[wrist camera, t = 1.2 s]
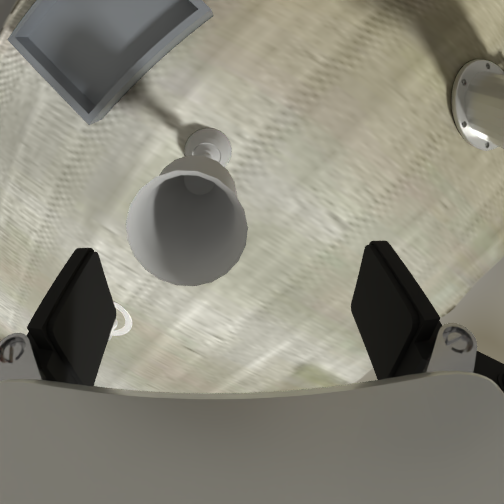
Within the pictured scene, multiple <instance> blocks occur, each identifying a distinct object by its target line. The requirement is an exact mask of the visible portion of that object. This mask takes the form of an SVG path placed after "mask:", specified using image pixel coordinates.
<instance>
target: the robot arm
mask: <svg viewBox="0 0 504 504" xmlns="http://www.w3.org/2000/svg"><path fill="white" fill-rule="evenodd" d="M452 112H453V116H454V120H455V123H456V126H457V128H458V130H459V132H460V134H461V135H462V137H463V138H464V139H465V141H467V142H468V143H469V144H470V145H472V146H474V147H476V148H478V149H481V150H486V151H487V150H492V149H495V148H497V147H501V148H503V149H504V72H503V70H502V69H501V68H500V67H499V66H497V65H496V64H495V63H493V62H490V61H487V60H478V59H476V60H472V61H470V62H468V63H467V64H465V65H464V66H463V67H462V68H461V69H460V71H459V73H458V74H457V76H456V79H455V82H454V85H453V90H452ZM351 311H352V314H353V317H354V319H355V322H356V324H357V327H358V329H359V332H360V334H361V337H362V339H363V342H364V344H365V347H366V350H367V352H368V355H369V357H370V360H371V363H372V365H373V368H374V371H375V373H376V376H377V379H378V380H375V381H368V382H362V383H354V384H347V385H339V386H331V387H322V388H312V389H301V390H289V391H274V392H255V393H170V392H150V391H135V390H123V389H113V388H104V387H95V386H94V382H95V379H96V376H97V373H98V369H99V366H100V363H101V360H102V357H103V354H104V351H105V348H106V345H107V342H108V339H109V336H110V333H111V330H112V327H113V325H114V322H115V319H116V308H115V305H114V303H113V300H112V297H111V294H110V291H109V288H108V284H107V281H106V278H105V275H104V272H103V268H102V265H101V262H100V258H99V255H98V253H97V252H94V250H93V249H92V248H77V249H76V250H75V251H74V253H73V254H72V256H71V257H70V258H69V260H68V261H67V263H66V264H65V266H64V267H63V269H62V270H61V272H60V273H59V275H58V276H57V278H56V280H55V281H54V283H53V284H52V286H51V287H50V289H49V291H48V292H47V294H46V296H45V297H44V299H43V300H42V302H41V304H40V305H39V307H38V309H37V311H36V312H35V314H34V316H33V317H32V319H31V321H30V323H29V325H28V326H27V329H28V330H29V332H28V334H27V336H26V335H24V334H22V333H14V334H11V335H8V336H7V337H5V338H4V339H3V340H2V341H1V342H0V504H504V364H502V363H500V362H498V361H496V360H494V359H492V358H490V357H488V356H486V355H484V354H482V353H480V352H478V351H477V341H476V339H475V337H474V335H473V334H472V332H470V331H469V330H468V329H467V328H466V327H464V326H462V325H460V324H456V323H448V324H444V325H443V326H442V324H441V323H440V321H439V320H440V317H439V315H438V313H437V312H436V310H435V309H434V307H433V306H432V304H431V303H430V301H429V300H428V298H427V297H426V295H425V294H424V292H423V291H422V289H421V288H420V286H419V285H418V283H417V282H416V280H415V279H414V277H413V276H412V274H411V273H410V272H409V270H408V269H407V267H406V266H405V264H404V263H403V262H402V260H401V259H400V258H399V256H398V255H397V253H396V252H395V251H394V249H393V248H392V247H391V245H390V244H389V243H388V242H387V241H371V242H370V244H369V245H367V246H366V247H365V249H364V254H363V258H362V262H361V267H360V271H359V275H358V279H357V283H356V287H355V291H354V295H353V299H352V303H351Z"/></svg>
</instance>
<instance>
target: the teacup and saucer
mask: <svg viewBox="0 0 504 504" xmlns="http://www.w3.org/2000/svg"><path fill="white" fill-rule="evenodd" d="M113 303H114V305H115V308H117V309H118V310H119V311H120V312H121V313H122V314H123V315H124V317H125V325H124V327H123V328H121V329H119V330H114V329H115V328H116V327H117V319H115V322H114V325H113V327H112V330H111V333H110V336H109V339H108V341H109V340H110V339H111V338H112V335H115V336H118V335H123V334H126V333H127V332H129V331H130V329H131V327H132V319H131V316H130V314H129V313H128V312H127V310H126V309H125V308H124V307H122V306H121V305H120V304H118V303H116V302H114V301H113Z"/></svg>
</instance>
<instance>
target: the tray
mask: <svg viewBox="0 0 504 504" xmlns="http://www.w3.org/2000/svg"><path fill="white" fill-rule="evenodd" d="M211 17H213V13H212V10H211V9H210V8H209V7H208V6H207V5H206V4H205V3H204V2H203V1H202V0H36V2H35V3H34V4H33V5H32V7H31V8H30V9H29V10H28V12H27V13H26V14H25V16H24V17H23V18H22V20H21V21H20V22H19V24H18V25H17V27H16V28H15V29H14V31H13V32H12V34H11V35H10V37H9V38H8V41H9V42H10V43H11V44H12V45H13V46H14V47H15V48H16V49H17V50H18V51H19V52H20V54H21V55H22V56H23V57H24V58H25V59H26V60H27V61H28V62H29V63H30V64H31V65H32V66H33V67H34V68H35V70H36V71H37V72H38V73H39V74H40V75H41V76H42V77H43V78H44V79H45V80H46V81H47V82H48V83H49V84H50V85H51V86H52V87H53V88H54V89H55V90H56V92H57V93H58V94H59V95H60V96H61V97H62V98H63V99H64V100H65V101H66V102H67V103H68V104H69V105H70V106H71V107H72V108H73V109H74V110H75V111H76V112H77V113H78V114H79V115H80V116H81V117H82V118H83V119H84V120H85V121H86V122H87V123H88V124H89V125H90V124H92V123H95V122H97V121H99V120H101V119H103V117H104V116H105V115H106V114H107V113H108V112H109V111H110V110H111V108H112V107H113V106H114V105H115V104H116V103H117V102H118V101H119V100H120V99H121V98H122V97H123V96H124V94H125V93H126V92H127V91H128V90H129V89H130V88H131V87H132V86H133V85H134V84H135V83H136V82H137V81H138V80H139V79H140V78H141V77H142V76H143V75H144V74H145V73H146V72H147V71H149V70H150V69H151V68H152V67H153V66H154V65H155V64H156V63H157V62H158V61H159V60H160V59H161V58H163V57H164V56H165V55H166V54H167V53H168V52H169V51H170V50H172V49H173V48H174V47H175V46H176V45H177V44H179V43H180V42H181V41H182V40H183V39H185V38H186V37H187V36H188V35H189V34H191V33H192V32H193V31H194V30H196V29H197V28H198V27H200V26H201V25H202V24H203V23H205V22H206V21H207V20H209V19H210V18H211Z"/></svg>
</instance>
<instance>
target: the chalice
mask: <svg viewBox="0 0 504 504" xmlns="http://www.w3.org/2000/svg"><path fill="white" fill-rule="evenodd" d="M231 152H232V148H231V143H230V141H229V139H228V138H227V136H226V135H225V134H223V133H222V132H221V131H219V130H216V129H213V128H204V129H201V130H198V131H196V132H195V133H193V134H192V135H191V136H190V137H189V139H188V140H187V143H186V145H185V157H182V158H179V159H176V160H174V161H173V162H172V163H170V164H169V165H168V166H166V167H165V168H164V169H163V171H162V172H161V174H160V175H159V176H157V177H155V178H154V179H152V180H151V181H150V182H149V183H147V184H146V185H145V186H143V187H142V188H141V189H140V190H139V192H138V193H137V195H136V196H135V198H134V200H133V201H132V203H131V204H130V207H129V212H128V216H127V220H126V229H127V240H128V242H129V245H130V247H131V250H132V252H133V254H134V256H135V258H136V259H137V260H138V261H139V262H140V264H141V265H142V266H143V267H144V269H145V270H147V271H148V272H150V273H151V274H153V275H154V276H155V277H157V278H158V279H160V280H163V281H166V282H169V283H172V284H175V285H183V286H197V285H201V284H205V283H210V282H213V281H214V280H216V279H218V278H220V277H221V276H223V275H225V274H227V272H228V271H229V270H230V269H231V268H232V267H233V266H234V265H235V264H236V263H237V262H238V260H239V258H240V256H241V254H242V252H243V250H244V248H245V246H246V238H247V230H248V227H247V222H246V217H245V212H244V209H243V207H242V205H241V204H240V202H239V200H238V199H237V191H236V187H235V182H234V180H233V178H232V177H231V175H230V173H229V172H228V170H227V169H226V168H225V166H226V165H227V163H228V162H229V160H230V158H231Z"/></svg>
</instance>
